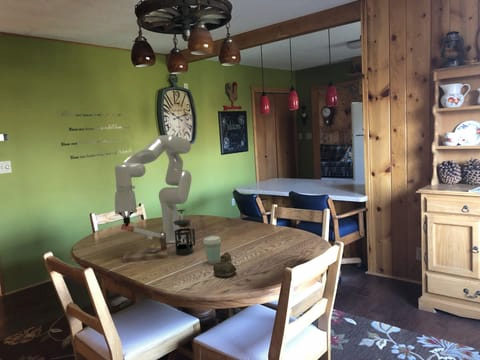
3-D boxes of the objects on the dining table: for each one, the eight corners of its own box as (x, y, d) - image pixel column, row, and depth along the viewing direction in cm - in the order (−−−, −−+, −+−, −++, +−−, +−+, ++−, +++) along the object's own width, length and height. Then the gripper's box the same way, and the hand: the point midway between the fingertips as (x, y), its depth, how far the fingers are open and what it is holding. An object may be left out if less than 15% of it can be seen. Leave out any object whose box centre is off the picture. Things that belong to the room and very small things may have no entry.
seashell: (245, 258, 165) (229, 253, 172) (227, 250, 157) (212, 245, 165) (235, 283, 162) (220, 277, 169) (217, 276, 155) (202, 270, 162)
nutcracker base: (168, 250, 203) (166, 230, 201) (167, 257, 191) (166, 236, 189) (126, 255, 199) (124, 235, 198) (122, 262, 187) (120, 241, 186)
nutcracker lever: (163, 240, 197) (165, 233, 197) (163, 242, 194) (165, 234, 194) (120, 231, 193) (122, 223, 192) (120, 232, 190) (122, 224, 190)
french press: (179, 257, 191) (176, 212, 188) (171, 253, 198) (167, 210, 195) (199, 251, 198) (196, 208, 195) (190, 248, 205) (187, 206, 202)
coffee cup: (213, 258, 186) (211, 234, 185) (226, 261, 181) (224, 236, 180) (201, 263, 180) (199, 239, 178) (214, 266, 175) (212, 241, 173)
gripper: (140, 187, 194) (142, 222, 196) (110, 189, 192) (113, 224, 193) (138, 188, 187) (141, 225, 188) (107, 190, 184) (110, 227, 186)
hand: (127, 224), depth 191 cm, fingers closed
